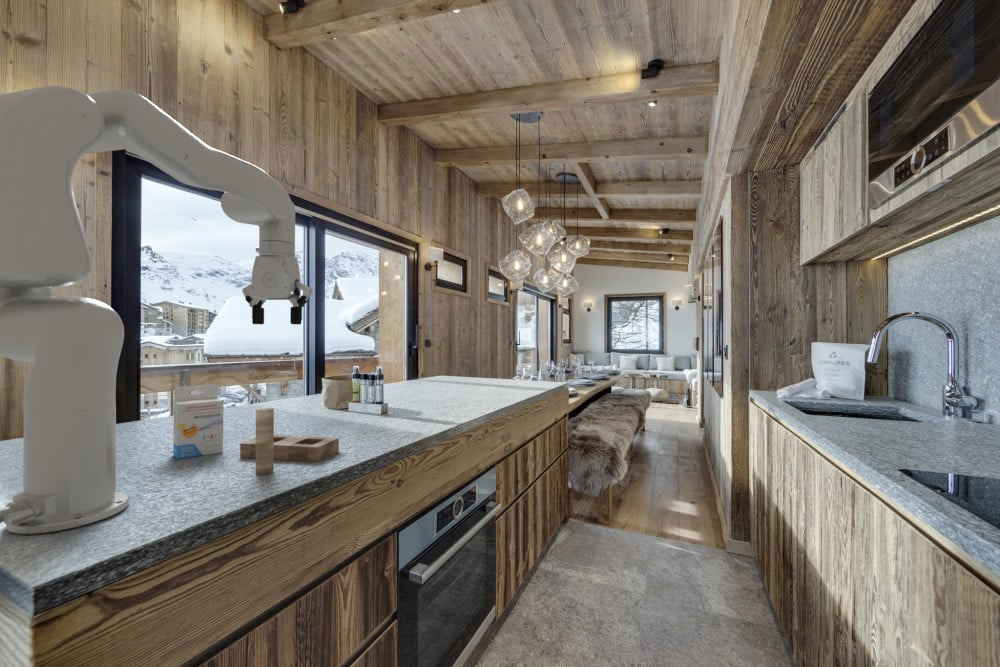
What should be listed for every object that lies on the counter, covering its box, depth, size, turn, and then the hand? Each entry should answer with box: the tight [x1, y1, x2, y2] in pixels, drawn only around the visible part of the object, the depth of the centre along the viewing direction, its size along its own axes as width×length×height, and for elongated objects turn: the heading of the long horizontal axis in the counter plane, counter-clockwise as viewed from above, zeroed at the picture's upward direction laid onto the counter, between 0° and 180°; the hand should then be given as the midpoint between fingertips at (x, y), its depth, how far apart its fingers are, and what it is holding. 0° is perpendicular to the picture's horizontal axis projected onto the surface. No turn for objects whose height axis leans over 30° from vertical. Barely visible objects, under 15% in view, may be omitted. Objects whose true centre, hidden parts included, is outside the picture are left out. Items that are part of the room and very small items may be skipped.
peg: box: [255, 407, 275, 476], centre depth 82 cm, size 3×3×12 cm
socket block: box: [239, 434, 340, 463], centre depth 95 cm, size 8×18×3 cm, turn 81°
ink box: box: [172, 383, 224, 460], centre depth 95 cm, size 8×5×15 cm, turn 134°
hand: (276, 324), depth 102 cm, fingers open, 9 cm apart
